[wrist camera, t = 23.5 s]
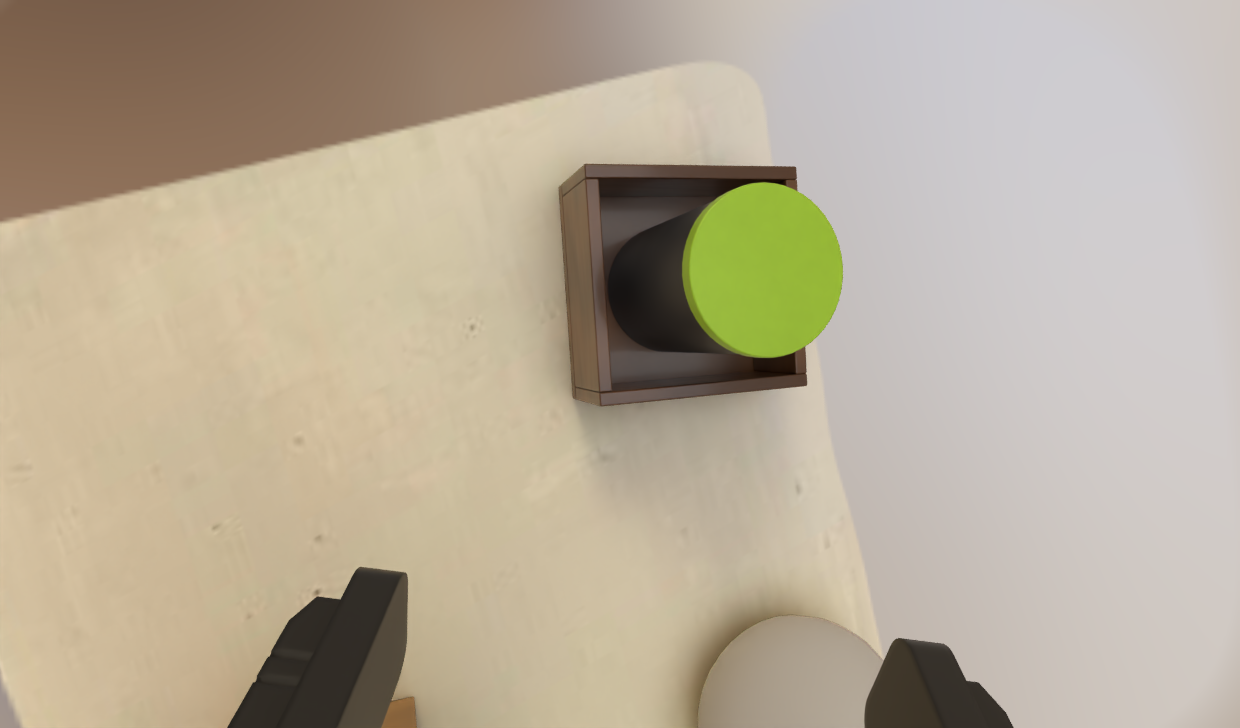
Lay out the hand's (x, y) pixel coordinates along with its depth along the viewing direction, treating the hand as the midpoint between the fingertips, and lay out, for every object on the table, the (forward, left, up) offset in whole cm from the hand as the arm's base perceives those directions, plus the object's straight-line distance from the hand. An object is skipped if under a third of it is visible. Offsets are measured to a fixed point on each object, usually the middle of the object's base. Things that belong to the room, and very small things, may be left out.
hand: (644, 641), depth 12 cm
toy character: (+15, +14, -23) cm, 31 cm away
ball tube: (-7, +10, -22) cm, 25 cm away
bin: (-7, +10, -22) cm, 26 cm away
